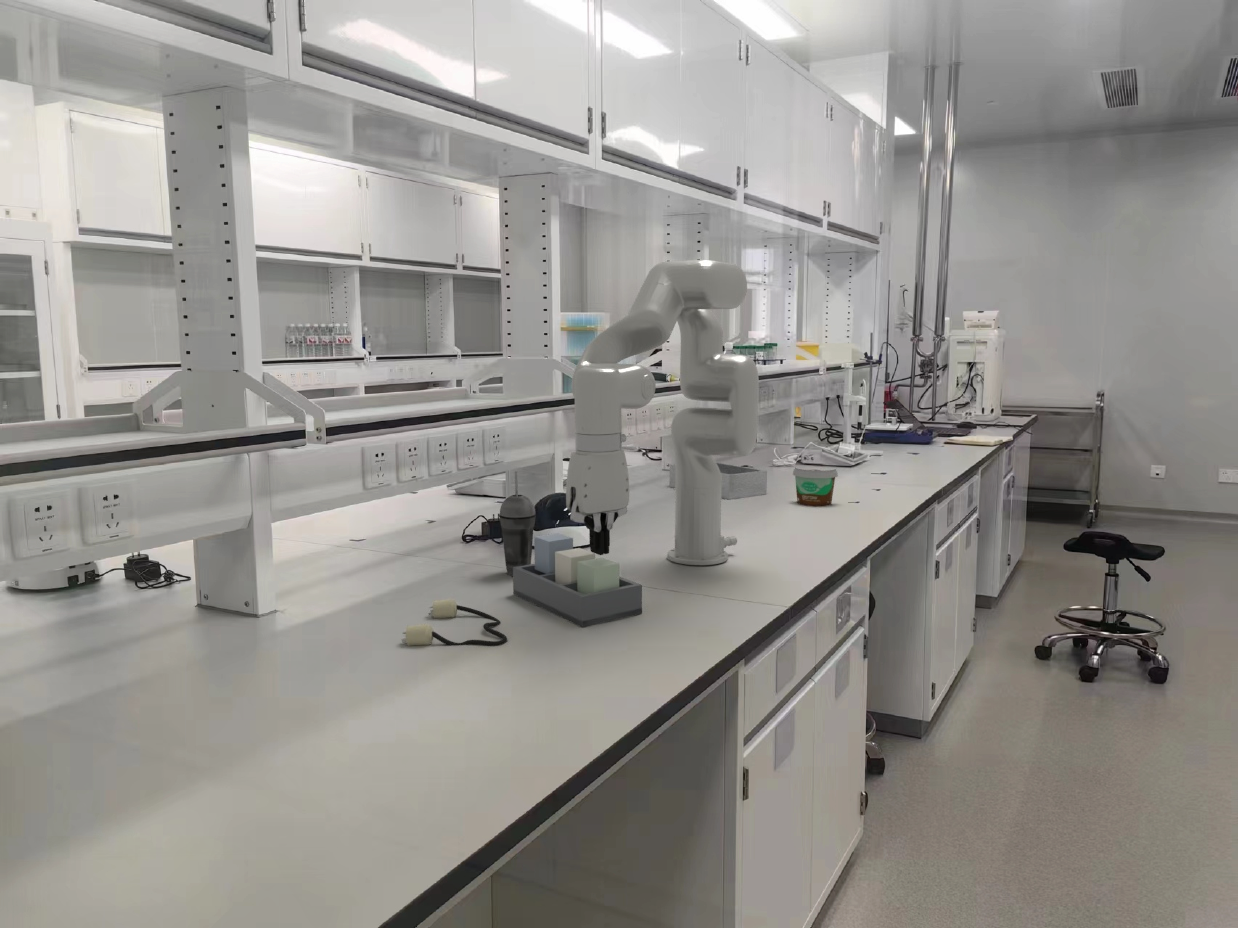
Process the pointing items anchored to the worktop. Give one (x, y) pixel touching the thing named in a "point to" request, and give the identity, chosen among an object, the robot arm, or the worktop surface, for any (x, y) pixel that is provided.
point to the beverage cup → (517, 529)
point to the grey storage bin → (735, 481)
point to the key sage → (597, 575)
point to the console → (577, 597)
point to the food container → (814, 486)
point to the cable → (448, 610)
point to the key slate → (549, 550)
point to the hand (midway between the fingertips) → (599, 552)
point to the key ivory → (569, 564)
